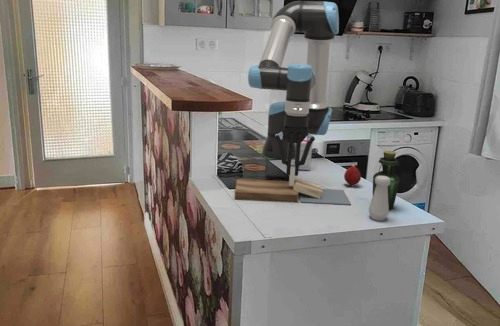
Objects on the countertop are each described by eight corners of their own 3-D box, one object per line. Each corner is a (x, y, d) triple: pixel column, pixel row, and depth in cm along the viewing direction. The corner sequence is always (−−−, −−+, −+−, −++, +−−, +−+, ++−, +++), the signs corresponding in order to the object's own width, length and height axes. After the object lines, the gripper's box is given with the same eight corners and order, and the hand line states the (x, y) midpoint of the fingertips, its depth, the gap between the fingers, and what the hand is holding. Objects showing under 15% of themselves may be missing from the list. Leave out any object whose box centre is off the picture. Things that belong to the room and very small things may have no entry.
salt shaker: (363, 217, 139) (368, 175, 135) (375, 213, 142) (380, 172, 139) (380, 223, 135) (386, 180, 131) (391, 219, 138) (397, 177, 135)
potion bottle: (393, 213, 143) (401, 156, 138) (367, 208, 146) (373, 152, 141) (397, 205, 150) (405, 151, 145) (372, 200, 153) (378, 147, 148)
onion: (362, 185, 168) (364, 164, 166) (356, 189, 164) (358, 167, 161) (347, 182, 171) (349, 161, 169) (340, 186, 167) (342, 164, 164)
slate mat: (297, 188, 162) (297, 187, 162) (343, 190, 162) (343, 189, 162) (300, 202, 148) (300, 201, 148) (351, 205, 148) (351, 204, 148)
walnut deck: (236, 185, 162) (237, 178, 161) (294, 188, 162) (294, 181, 161) (234, 199, 148) (235, 192, 148) (297, 202, 148) (298, 195, 148)
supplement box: (310, 171, 183) (312, 143, 180) (295, 170, 183) (297, 142, 180) (308, 167, 189) (310, 139, 185) (293, 166, 188) (296, 139, 185)
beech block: (292, 184, 157) (294, 177, 156) (317, 192, 157) (320, 186, 157) (293, 190, 151) (296, 183, 150) (319, 198, 151) (322, 191, 151)
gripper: (276, 114, 144) (271, 187, 150) (318, 117, 144) (312, 189, 150) (275, 111, 151) (271, 180, 158) (315, 113, 151) (309, 182, 158)
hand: (291, 184), depth 154 cm, fingers closed
